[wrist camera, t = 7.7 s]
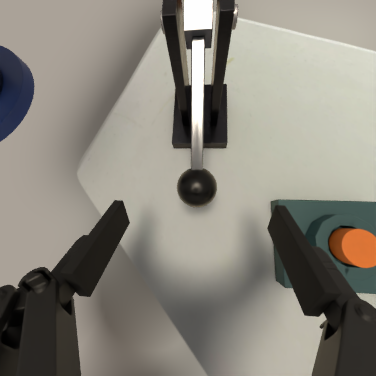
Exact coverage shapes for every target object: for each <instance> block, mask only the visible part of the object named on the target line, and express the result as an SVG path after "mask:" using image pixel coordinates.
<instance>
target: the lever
mask: <svg viewBox="0 0 376 376" xmlns="http://www.w3.org/2000/svg"><path fill="white" fill-rule="evenodd" d="M212 29H213V0H184V35H185V41H186V48H187V49H191V169H188V170H187V171H185V172H184V173H183V174H182V175H181V176H180V178H179V180H178V183H177V191H178V195H179V197H180V198H181V200H182V201H183V202H184V203H185V204H187V205H189V206H192V207H202V206H205V205H207V204H209V203H210V202H211V201H212V200H213V198H214V197H215V195H216V191H217V184H216V180H215V178H214V176H213V175H212V174H211V173H210V172H209V171H207V170H206V169H203V123H204V69H205V48H211V42H212Z"/></svg>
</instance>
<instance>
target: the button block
mask: <svg viewBox="0 0 376 376" xmlns="http://www.w3.org/2000/svg"><path fill="white" fill-rule="evenodd" d="M275 205H285V206H286V208H287V209H288V211H289V212H290V214H291V215H292V217H293V218H294V220H295V221H296V223H297V225H298V226H299V228H300V229H301V231H302V232H303V234H304V235H305V237H306V238H307V240H308V241H309V243H310V245H311V246H317V247H320V248H321V249H323V250H324V251H325V252H326V253H327V254H328V255H329V256H330V258H331V259H332V261H333V263H335V265H336V266H337V268H338V270H340V272H341V273H342V275H343V276H344V277H345V279H346V280H347V282H348V283H349V284H350V286H351V287H352V289H353V290H354V291H355V293H369V294H376V266H374V267H371V268H361V267H358V266H354V265H351V264H347V263H344V262H342V261H340V260H338V259H337V258H336V257H335V256H334V255H333V254H332V252H331V250H330V248H329V238H330V235H331V234H332V233H333V232H334V231H335V230H337V229H341V228H351V229H363V230H366V231H368V232H370V233H372V234H373V235H374V236H375V237H376V202H361V201H319V200H275V201H272V202H271V209H272V213H273V210H274V207H275ZM274 254H275V268H276V281H277V282H279V283H280V284H281V285H282V286H284V287H285V288H293V287H292V285H291V283H290V280H289V278H288V276H287V273H286V271H285V269H284V266H283V264H282V261H281V259H280V257H279V254H278V252H277V250H276V247H275V245H274Z"/></svg>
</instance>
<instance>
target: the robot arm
mask: <svg viewBox="0 0 376 376" xmlns="http://www.w3.org/2000/svg"><path fill="white" fill-rule="evenodd" d="M2 87H3V75H2V72H1V70H0V94H1V91H2ZM129 223H130V222H129V219H128V216H127V212H126V209H125V206H124V203H123V201H117V200H115V201H114V202H113V203H112V205H111V206H110V207H109V208H108V210H107V211H106V212H105V214H104V215H103V216H102V218H101V219H100V220H99V222H98V223H97V224H96V226H95V227H94V228H93V229H92V231H91V232H90V233H89V235H83V236H82V237H80V238H79V239H78V240H77V241H76V242H75V243H74V244H73V246H72V247H71V248H70V249H69V250H68V252H67V253H66V254H65V255H64V257H63V258H62V259H61V260H60V262H59V263H58V264H57V265H56V267H55V268H54V269H53V270H52V271H51V272H50V271H49V270H48V269H47V268H45V267H40V268H37V269H34V270H32V271H30V272H29V273H27V275H25V276H24V277H23V278H22V279H21V281H20V282H19V284H18V287H19V288H18V289H16V288H15V287H13V286H12V285H6V286H2V287H0V376H81V371H80V360H79V350H78V339H77V328H76V318H75V308H74V299H73V297H72V296H73V295H74V293H75V292H76V293H77V294H78V295H79V296H87V297H90V296H91V294H92V292H93V291H94V289H95V287H96V285H97V283H98V281H99V279H100V278H101V276H102V274H103V272H104V270H105V268H106V266H107V264H108V262H109V261H110V259H111V257H112V255H113V253H114V251H115V249H116V248H117V246H118V244H119V242H120V240H121V238H122V236H123V234H124V233H125V231H126V229H127V227H128V225H129ZM267 229H268V231H269V233H270V236H271V238H272V240H273V243H274V245H275V247H276V250H277V252H278V254H279V257H280V259H281V261H282V264H283V266H284V269H285V271H286V273H287V276H288V278H289V280H290V283H291V285H292V287H293V290H294V292H295V294H296V297H297V299H298V301H299V304H300V306H301V308H302V311H303V313H304V315H305V316H317V317H319V316H320V315H321V314H322V313H324V314H325V316H326V318H327V320H325V321H324V322H323V323H322V324H321V325H320V328H321V329H322V328H323V327H324V328H323V332H322V336H321V340H320V344H319V348H318V352H317V356H316V360H315V364H314V368H313V372H312V376H376V309H375V308H374V307H373V306H372V305H370V304H369V303H367V302H366V301H364V300H361V299H360V298H359V297H358V295H357V294H356V293H355V291H354V290H353V289H352V287H351V286H350V284H349V283H348V282H347V280H346V279H345V277H344V276H343V275H342V273H341V272H340V270H338V268H337V266H336V265H335V263H333V261H332V259H331V258H330V256H329V255H328V254H327V253H326V252H325V251H324V250H323V249H321V248H320V247H317V246H311V245H310V243H309V241H308V240H307V238H306V237H305V235H304V234H303V232H302V231H301V229H300V228H299V226H298V225H297V223H296V221H295V220H294V218H293V217H292V215H291V214H290V212H289V211H288V209H287V208H286V206H285V205H275V207H274V210H273V213H272V216H271V219H270V222H269V225H268V228H267Z"/></svg>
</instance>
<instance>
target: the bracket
mask: <svg viewBox="0 0 376 376" xmlns="http://www.w3.org/2000/svg"><path fill="white" fill-rule="evenodd" d="M237 15H238V4H235V0H217V10H216V24H215V39H214V53H213V68H212V82H211V85H204V123H203V148H226V146H227V84H223V83H224V76H225V70H226V63H227V57H228V51H229V44H230V38H231V31H232V30H234V29H235V28H236V23H237ZM161 26H162V31H163V34H165V36H166V41H167V46H168V52H169V57H170V62H171V67H172V72H173V77H174V82H175V87H176V89H175V105H174V121H173V138H172V144H173V147H174V148H191V85H189V78H188V67H187V56H186V45H185V35H184V23H183V12H182V2H181V0H163V5H162V10H161Z"/></svg>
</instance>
